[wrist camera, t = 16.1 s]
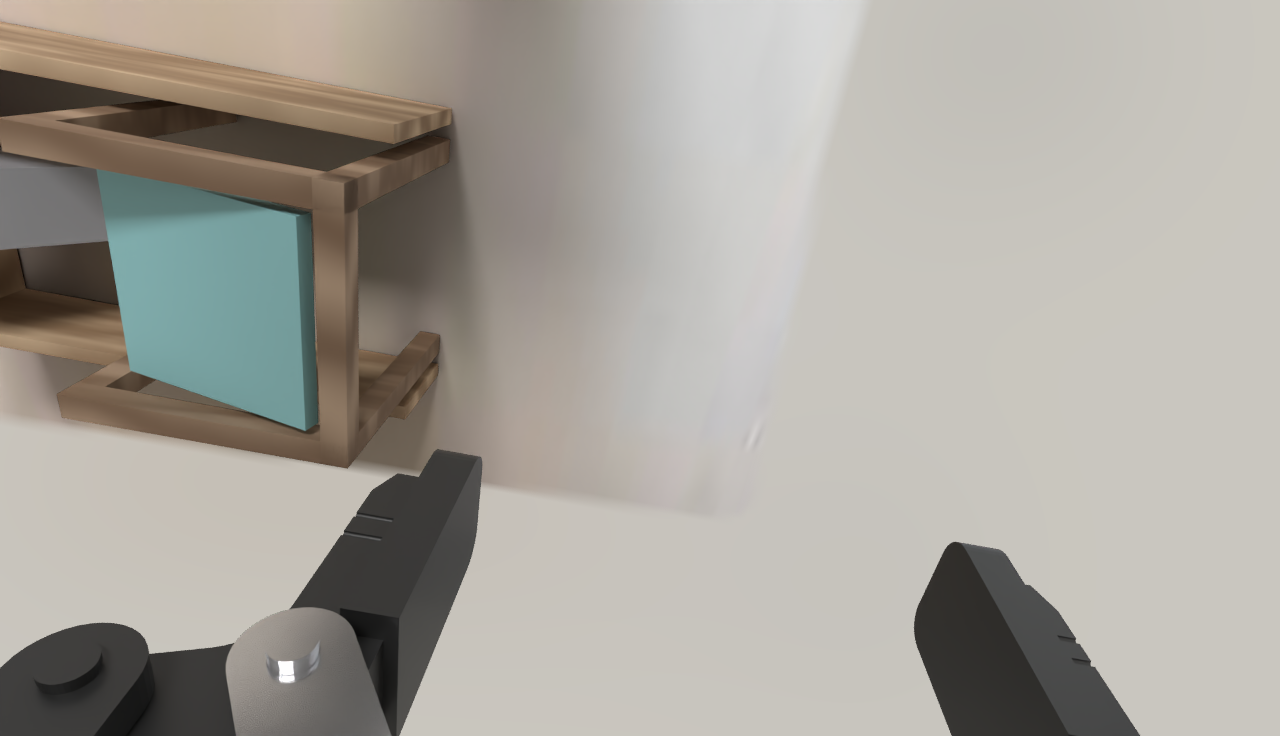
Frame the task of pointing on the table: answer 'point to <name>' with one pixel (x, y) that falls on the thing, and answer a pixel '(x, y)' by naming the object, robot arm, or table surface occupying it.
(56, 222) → the granite stone
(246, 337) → the trapdoor
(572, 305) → the table surface
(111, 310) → the trapdoor frame
